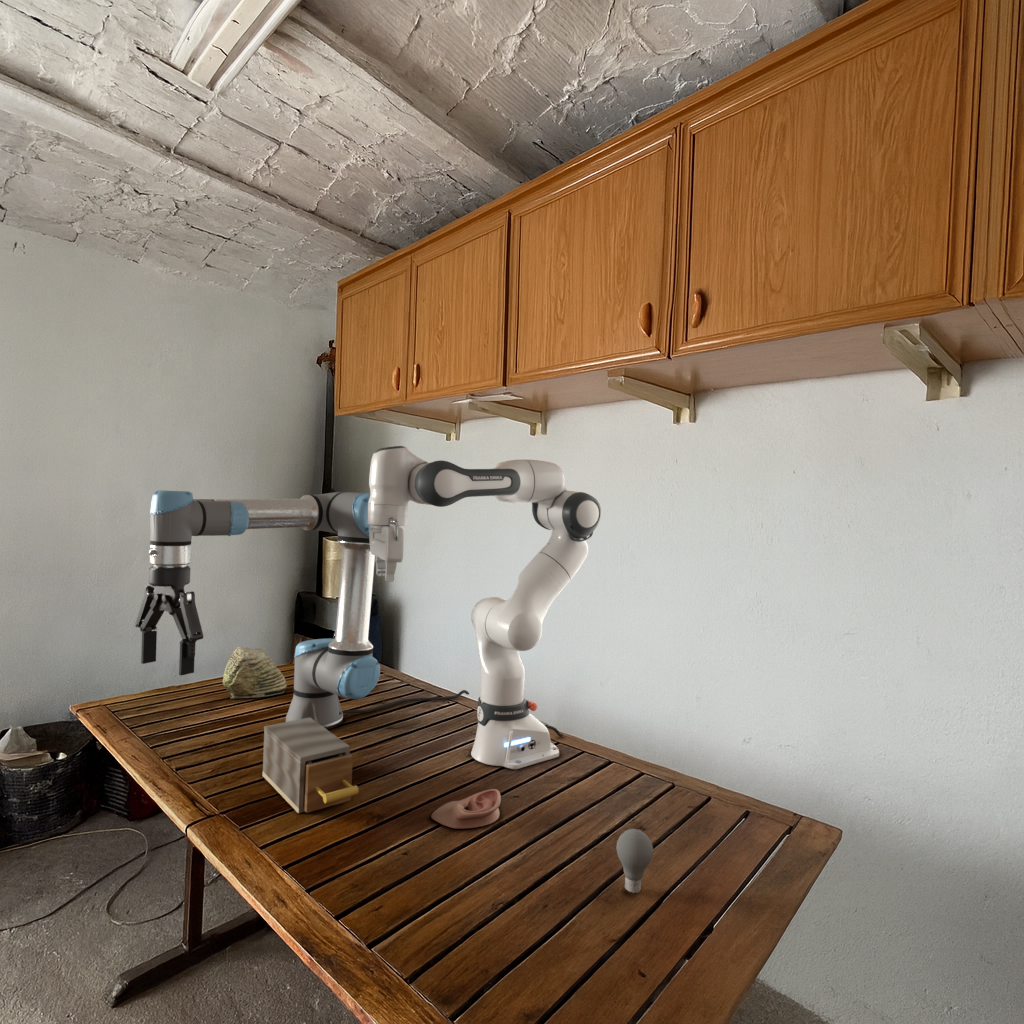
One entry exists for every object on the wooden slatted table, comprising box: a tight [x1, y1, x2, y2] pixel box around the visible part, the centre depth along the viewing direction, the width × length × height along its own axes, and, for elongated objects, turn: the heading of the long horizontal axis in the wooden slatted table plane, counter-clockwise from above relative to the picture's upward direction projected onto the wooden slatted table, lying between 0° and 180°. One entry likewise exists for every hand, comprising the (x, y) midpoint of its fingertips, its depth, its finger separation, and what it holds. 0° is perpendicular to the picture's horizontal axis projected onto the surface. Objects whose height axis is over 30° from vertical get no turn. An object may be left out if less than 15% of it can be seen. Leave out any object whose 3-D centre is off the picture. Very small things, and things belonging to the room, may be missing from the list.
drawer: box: [304, 753, 360, 814], centre depth 133 cm, size 25×9×9 cm, turn 40°
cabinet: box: [261, 717, 351, 814], centre depth 138 cm, size 21×11×11 cm, turn 40°
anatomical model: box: [430, 788, 502, 830], centre depth 128 cm, size 13×4×12 cm
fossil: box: [222, 646, 288, 699], centre depth 198 cm, size 9×18×15 cm, turn 132°
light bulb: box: [615, 828, 654, 894], centre depth 106 cm, size 6×6×10 cm
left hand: (167, 668), depth 131 cm, fingers open, 13 cm apart
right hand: (384, 578), depth 143 cm, fingers open, 8 cm apart
